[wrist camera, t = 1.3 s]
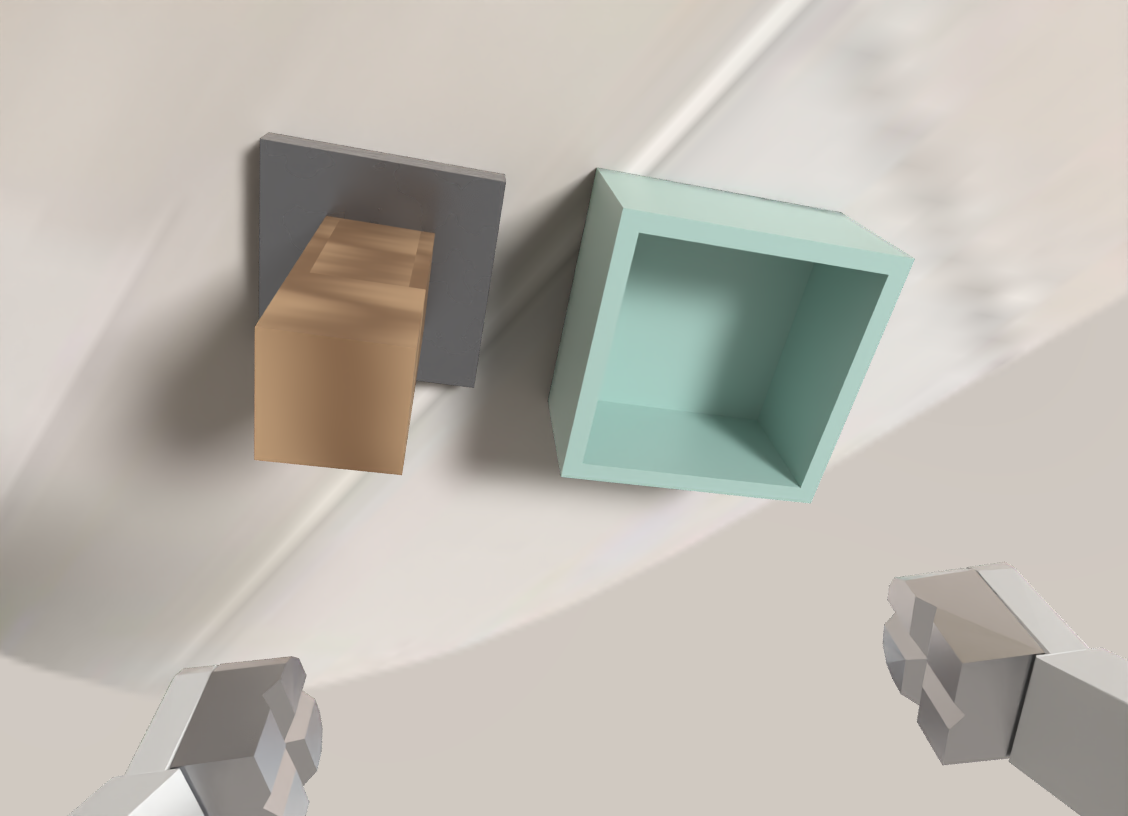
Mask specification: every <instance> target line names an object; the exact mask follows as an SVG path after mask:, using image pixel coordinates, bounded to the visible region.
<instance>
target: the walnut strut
mask: <svg viewBox="0 0 1128 816" xmlns="http://www.w3.org/2000/svg"><path fill="white" fill-rule="evenodd" d="M434 238H435V233H430V232H424V231H417V230H411V229H405V228H399V227H393V226H386V225H380V224H374V223H368V222H362V221H355V220H349V219H343V218H337V217H330V216H326V217H325V218H324V220H323V222H322V223H321V225H320V226H319V228H318V229H317V231H316V232H315V234H314V236H313V237H312V239H311V240H310V242H309V243H308V245H307V246H306V248H305V250H304V251H303V253H302V254H301V256H300V257H299V259H298V260H297V262H296V263H295V265H294V267H293V268H292V270H291V271H290V273H289V274H288V276H287V277H286V279H285V281H284V282H283V284H282V285H281V287H280V288H279V290H278V291H277V293H276V295H275V296H274V298H273V299H272V301H271V302H270V304H269V305H268V307H267V309H266V310H265V312H264V313H263V315H262V316H261V318H260V319H259V321H258V323H257V324H256V326H255V395H254V460H260V461H270V462H280V463H289V464H299V465H309V466H319V467H328V468H338V469H348V470H358V471H367V472H377V473H387V474H397V475H402V471H403V465H404V458H405V451H406V445H407V438H408V431H409V425H410V418H411V411H412V405H413V398H414V391H415V385H416V378H417V371H418V365H419V358H420V351H421V345H422V338H423V331H424V323H425V315H426V306H427V298H428V289H429V281H430V272H431V263H432V255H433V246H434Z"/></svg>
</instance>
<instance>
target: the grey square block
mask: <svg viewBox="0 0 1128 816" xmlns="http://www.w3.org/2000/svg"><path fill="white" fill-rule="evenodd" d="M505 185H506V179H505V174H500V173H494V172H489V171H483V170H477V169H472V168H466V167H461V166H455V165H449V164H444V163H438V162H432V161H427V160H421V159H416V158H410V157H404V156H399V155H393V154H387V153H382V152H376V151H371V150H365V149H359V148H354V147H348V146H343V145H337V144H331V143H326V142H320V141H314V140H309V139H303V138H298V137H292V136H286V135H281V134H275V133H267V134H266V135H265V136H263V137H262V138H260V233H259V319H260V318H261V316H262V315H263V313H264V312H265V310H266V309H267V307H268V305H269V304H270V302H271V301H272V299H273V298H274V296H275V295H276V293H277V291H278V290H279V288H280V287H281V285H282V284H283V282H284V281H285V279H286V277H287V276H288V274H289V273H290V271H291V270H292V268H293V267H294V265H295V263H296V262H297V260H298V259H299V257H300V256H301V254H302V253H303V251H304V250H305V248H306V246H307V245H308V243H309V242H310V240H311V239H312V237H313V236H314V234H315V232H316V231H317V229H318V228H319V226H320V225H321V223H322V222H323V220H324V218H325V217H326V216H330V217H337V218H343V219H349V220H355V221H362V222H368V223H374V224H380V225H386V226H393V227H399V228H405V229H411V230H417V231H424V232H430V233H435V238H434V246H433V255H432V263H431V272H430V281H429V289H428V298H427V306H426V315H425V323H424V331H423V338H422V345H421V351H420V358H419V365H418V371H417V378H416V381H424V382H432V383H440V384H448V385H456V386H464V387H472V388H474V383H475V377H476V370H477V364H478V357H479V351H480V345H481V338H482V332H483V325H484V319H485V313H486V306H487V300H488V293H489V287H490V281H491V274H492V268H493V261H494V255H495V249H496V242H497V236H498V229H499V223H500V217H501V210H502V204H503V198H504V191H505Z"/></svg>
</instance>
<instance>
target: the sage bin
mask: <svg viewBox="0 0 1128 816" xmlns="http://www.w3.org/2000/svg"><path fill="white" fill-rule="evenodd" d="M914 260H915V259H914V258H913V257H911V256H910V255H908V254H906V253H905V252H903V251H902V250H900V249H898V248H897V247H895V246H894V245H892V244H890V243H889V242H887V241H886V240H884V239H882V238H881V237H879V236H878V235H876V234H874V233H873V232H871V231H870V230H868V229H866V228H865V227H863V226H862V225H860V224H858V223H857V222H855V221H854V220H852V219H851V218H849V217H847V216H846V215H844V214H843V213H841V212H836V211H830V210H825V209H820V208H814V207H809V206H803V205H798V204H792V203H787V202H781V201H776V200H771V199H765V198H760V197H754V196H749V195H743V194H738V193H732V192H727V191H722V190H716V189H711V188H705V187H700V186H694V185H689V184H683V183H678V182H673V181H667V180H662V179H656V178H651V177H645V176H640V175H634V174H629V173H624V172H618V171H613V170H607V169H602V168H597V169H596V174H595V178H594V183H593V188H592V193H591V197H590V202H589V207H588V212H587V217H586V221H585V226H584V231H583V236H582V240H581V245H580V250H579V255H578V259H577V264H576V269H575V274H574V278H573V283H572V288H571V293H570V297H569V302H568V307H567V312H566V316H565V321H564V326H563V331H562V336H561V340H560V345H559V350H558V355H557V359H556V364H555V369H554V374H553V378H552V383H551V388H550V393H549V397H548V405H549V411H550V416H551V422H552V428H553V434H554V440H555V445H556V451H557V457H558V463H559V469H560V474H561V477H567V478H576V479H586V480H595V481H605V482H614V483H623V484H633V485H642V486H652V487H661V488H671V489H680V490H689V491H699V492H708V493H718V494H727V495H737V496H746V497H755V498H765V499H774V500H784V501H794V502H803V503H811V501H812V499H813V496H814V494H815V492H816V490H817V487H818V485H819V483H820V480H821V478H822V476H823V473H824V471H825V469H826V466H827V464H828V461H829V459H830V457H831V454H832V452H833V450H834V447H835V445H836V443H837V440H838V438H839V436H840V433H841V431H842V429H843V426H844V424H845V422H846V419H847V417H848V415H849V412H850V410H851V407H852V405H853V403H854V400H855V398H856V396H857V393H858V391H859V389H860V386H861V384H862V382H863V379H864V377H865V375H866V372H867V370H868V368H869V365H870V363H871V361H872V358H873V356H874V353H875V351H876V349H877V346H878V344H879V342H880V339H881V337H882V335H883V332H884V330H885V328H886V325H887V323H888V321H889V318H890V316H891V314H892V311H893V309H894V307H895V304H896V302H897V300H898V297H899V295H900V292H901V290H902V288H903V285H904V283H905V281H906V278H907V276H908V274H909V271H910V269H911V267H912V264H913V262H914Z"/></svg>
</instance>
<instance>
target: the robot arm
mask: <svg viewBox="0 0 1128 816" xmlns="http://www.w3.org/2000/svg"><path fill="white" fill-rule="evenodd" d="M887 600H888V602H889V603H890V605H891V606H892V608H893V610H894V611H895V613H894V614H893V615H892V617H891V618H890V619H889V620H888V621H887V622H886V623H885V624H884V634H883V647H884V653H885V658H886V663H887V666H888V669H889V671H890V674H891V676H892V679H893V681H894V682H895V684H896V686H897V688H898V690H899V691H900V693H901V694H902V695H904V696H905V697H907V698H908V699H910V700H911V701H913V702H915V703H916V704H918V705H919V712H918V719H917V723H918V724H919V726H920V727H921V729H922V731H923V733H924V734H925V736H926V738H927V740H928V741H929V743H930V745H931V746H932V748H933V750H934V752H935V753H936V755H937V757H938V758H939V760H940V762H941V763H942V765H949V764H959V763H969V762H978V761H987V760H998V759H1007V758H1010V759H1009V762H1010V763H1011V764H1013V765H1014V766H1015V767H1016V768H1018V769H1019V770H1020V771H1022V772H1023V773H1024V774H1026V775H1027V776H1028V777H1030V778H1031V779H1032V780H1034V781H1035V782H1036V783H1038V784H1039V785H1040V786H1042V787H1043V788H1044V789H1046V790H1047V791H1048V792H1050V793H1051V794H1052V795H1054V796H1055V797H1056V798H1058V799H1059V800H1060V801H1062V802H1063V803H1064V804H1066V805H1067V806H1068V807H1070V808H1071V809H1072V810H1074V811H1075V812H1076V813H1078V814H1079V815H1080V816H1128V660H1127V659H1125V658H1123V657H1121V656H1119V655H1117V654H1115V653H1113V652H1110V651H1108V650H1106V649H1104V648H1102V647H1100V648H1091V649H1090V648H1089V647H1088V646H1087V645H1086V644H1085V643H1084V642H1083V641H1082V639H1081V638H1080V637H1079V636H1078V635H1077V634H1076V633H1075V632H1074V631H1073V630H1072V629H1071V628H1070V626H1069V625H1068V624H1067V623H1066V622H1065V621H1064V620H1063V619H1062V618H1061V617H1060V616H1059V615H1058V614H1057V612H1056V611H1055V610H1054V609H1053V608H1052V607H1051V606H1050V605H1049V604H1048V603H1047V602H1046V601H1045V600H1044V599H1043V597H1042V596H1041V595H1040V594H1039V593H1038V592H1037V591H1036V590H1035V589H1034V588H1033V587H1032V586H1031V584H1030V583H1029V582H1028V581H1027V580H1026V579H1025V578H1024V577H1023V576H1022V575H1021V574H1020V573H1019V572H1018V570H1017V569H1016V568H1015V567H1014V566H1012V565H1010V564H1008V563H1006V562H1000V563H993V564H986V565H979V566H972V567H967V568H960V569H953V570H946V571H939V572H931V573H924V574H917V575H910V576H903V577H895V578H894V579H893V580H892V582H891V584H890V585H889V592H888V599H887ZM305 679H306V673H305V671H304V669H303V666H302V664H301V662H300V659H299V658H296V657H292V656H291V657H281V658H272V659H262V660H253V661H243V662H234V663H224V664H220V665H214V666H204V667H194V668H184V669H183V670H181V671H180V672H179V673H178V674H177V675H175V676H174V678H173V679H172V681H171V683H170V685H169V687H168V689H167V691H166V693H165V695H164V697H163V699H162V701H161V703H160V705H159V707H158V709H157V711H156V713H155V715H154V717H153V719H152V721H151V723H150V725H149V727H148V729H147V731H146V733H145V735H144V737H143V739H142V741H141V743H140V745H139V747H138V749H137V751H136V753H135V755H134V757H133V759H132V761H131V763H130V765H129V767H128V769H127V771H126V773H125V775H124V776H118V777H112V778H111V779H110V780H109V781H107V783H105V784H104V785H103V786H102V787H100V788H99V789H98V790H97V791H96V792H95V793H94V794H92V795H91V796H90V797H89V798H88V799H86V800H85V801H84V802H83V803H82V804H81V805H79V806H78V807H77V808H76V809H75V810H74V811H72V812H71V813H70V814H69V815H68V816H306V813H307V809H308V805H309V800H308V798H307V795H306V792H305V790H304V787H303V786H304V784H305V783H306V782H307V781H308V780H309V779H310V778H311V777H312V776H313V775H314V774H315V772H316V771H317V768H318V764H319V760H320V756H321V751H322V722H321V716H320V711H319V708H318V705H317V703H316V700H315V698H313V697H311V696H310V695H308V694H307V693H305V692H304V691H302V689H303V686H304V683H305Z"/></svg>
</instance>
